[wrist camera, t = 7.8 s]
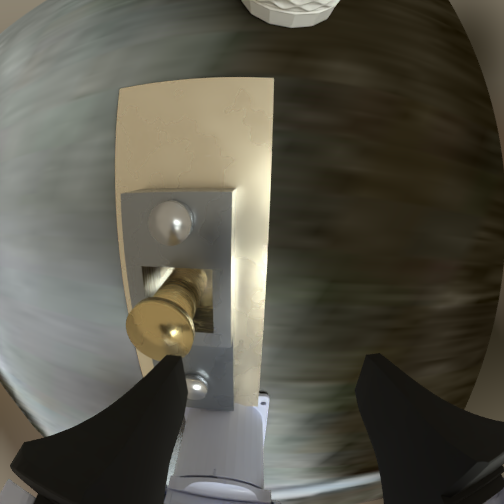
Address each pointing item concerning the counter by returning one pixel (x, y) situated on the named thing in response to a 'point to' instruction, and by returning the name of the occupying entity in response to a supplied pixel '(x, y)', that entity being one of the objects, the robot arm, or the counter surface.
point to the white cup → (291, 11)
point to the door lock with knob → (200, 218)
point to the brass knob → (168, 315)
